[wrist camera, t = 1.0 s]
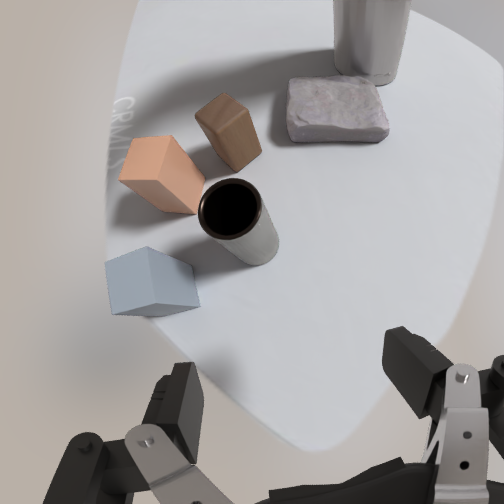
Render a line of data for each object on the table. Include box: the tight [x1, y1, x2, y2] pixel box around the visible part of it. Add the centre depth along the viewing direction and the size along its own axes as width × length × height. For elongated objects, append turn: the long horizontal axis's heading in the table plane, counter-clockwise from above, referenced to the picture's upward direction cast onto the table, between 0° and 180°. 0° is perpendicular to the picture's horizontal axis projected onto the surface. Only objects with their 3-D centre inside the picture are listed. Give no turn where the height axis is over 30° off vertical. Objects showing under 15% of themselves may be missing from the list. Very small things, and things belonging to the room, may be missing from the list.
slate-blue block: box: [105, 246, 201, 316], centre depth 25 cm, size 4×4×9 cm
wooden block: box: [195, 93, 262, 172], centre depth 28 cm, size 4×4×8 cm
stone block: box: [286, 75, 389, 142], centre depth 29 cm, size 12×5×10 cm
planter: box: [198, 178, 279, 265], centre depth 24 cm, size 4×4×10 cm
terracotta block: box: [118, 135, 205, 214], centre depth 27 cm, size 4×4×9 cm
